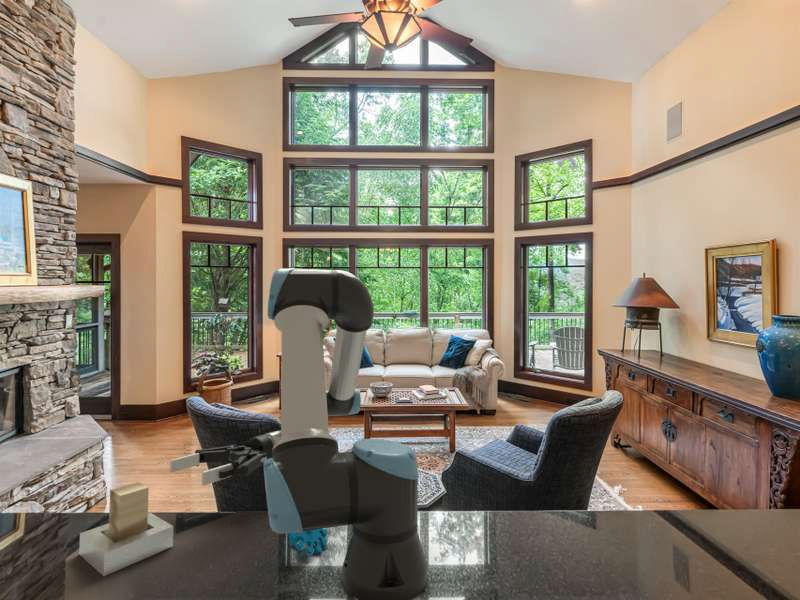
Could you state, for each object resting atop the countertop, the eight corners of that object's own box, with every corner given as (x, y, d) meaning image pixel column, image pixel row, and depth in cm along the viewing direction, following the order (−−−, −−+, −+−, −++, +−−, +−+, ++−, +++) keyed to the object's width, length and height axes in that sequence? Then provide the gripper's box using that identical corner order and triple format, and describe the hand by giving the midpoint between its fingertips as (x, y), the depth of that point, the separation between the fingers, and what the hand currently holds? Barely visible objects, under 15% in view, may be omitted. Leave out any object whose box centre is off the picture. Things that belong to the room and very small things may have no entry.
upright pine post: (146, 548, 82) (148, 487, 83) (118, 560, 78) (120, 495, 79) (135, 540, 85) (137, 481, 86) (107, 551, 81) (110, 489, 82)
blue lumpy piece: (306, 558, 76) (281, 510, 80) (286, 577, 77) (263, 528, 82) (340, 539, 86) (316, 496, 90) (322, 556, 87) (299, 513, 91)
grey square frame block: (172, 546, 83) (173, 526, 83) (103, 576, 73) (104, 553, 74) (145, 529, 90) (146, 510, 90) (79, 554, 80) (79, 533, 80)
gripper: (298, 472, 101) (217, 503, 84) (238, 454, 116) (158, 477, 98) (298, 441, 102) (218, 465, 84) (238, 427, 116) (159, 445, 99)
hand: (186, 472), depth 91 cm, fingers open, 13 cm apart
